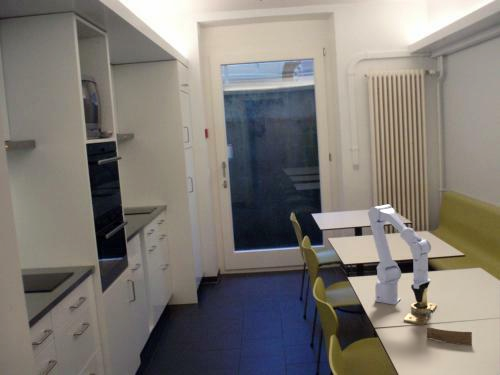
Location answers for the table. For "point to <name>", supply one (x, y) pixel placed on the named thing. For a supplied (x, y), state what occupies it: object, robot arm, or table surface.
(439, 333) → the wood plank
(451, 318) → the table surface
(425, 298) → the hinge pin
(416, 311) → the hinge
